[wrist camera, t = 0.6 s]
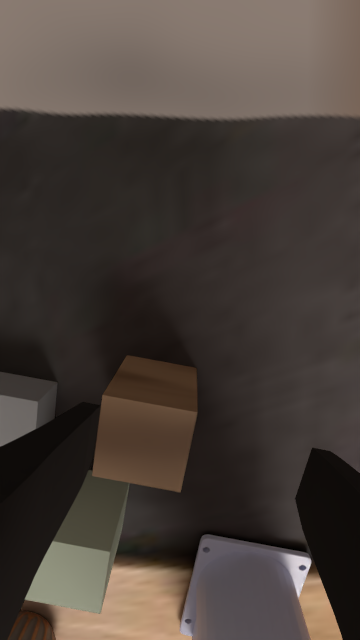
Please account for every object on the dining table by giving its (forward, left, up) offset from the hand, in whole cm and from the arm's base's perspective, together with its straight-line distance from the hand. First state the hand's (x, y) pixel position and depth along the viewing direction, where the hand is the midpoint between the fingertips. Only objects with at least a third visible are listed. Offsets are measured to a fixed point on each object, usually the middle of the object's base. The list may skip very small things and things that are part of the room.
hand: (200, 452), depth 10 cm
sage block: (-12, +5, -10) cm, 16 cm away
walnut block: (-3, +2, -10) cm, 10 cm away
